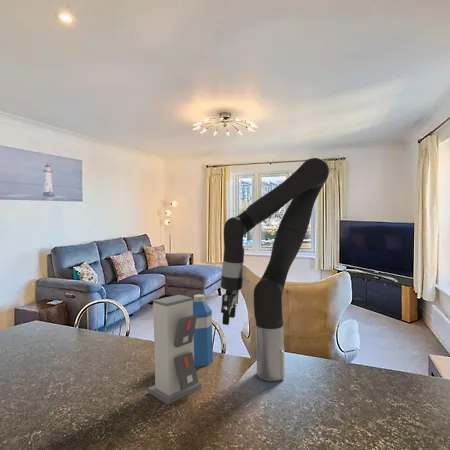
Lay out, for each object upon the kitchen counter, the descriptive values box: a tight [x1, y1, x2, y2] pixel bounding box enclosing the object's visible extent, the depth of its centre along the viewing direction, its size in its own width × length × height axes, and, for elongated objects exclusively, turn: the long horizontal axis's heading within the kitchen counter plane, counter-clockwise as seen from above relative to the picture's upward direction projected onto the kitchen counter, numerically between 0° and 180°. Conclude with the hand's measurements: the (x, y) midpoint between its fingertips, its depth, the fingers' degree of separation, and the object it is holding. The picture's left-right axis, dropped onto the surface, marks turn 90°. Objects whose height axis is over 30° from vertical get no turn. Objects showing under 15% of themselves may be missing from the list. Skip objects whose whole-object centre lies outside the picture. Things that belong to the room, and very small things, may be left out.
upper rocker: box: [174, 315, 197, 348], centre depth 100 cm, size 2×6×9 cm, turn 136°
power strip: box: [148, 294, 202, 405], centre depth 104 cm, size 10×13×29 cm
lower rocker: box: [174, 352, 199, 390], centre depth 100 cm, size 1×6×9 cm, turn 136°
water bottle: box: [193, 293, 214, 368], centre depth 125 cm, size 9×9×25 cm
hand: (228, 320), depth 116 cm, fingers open, 8 cm apart
